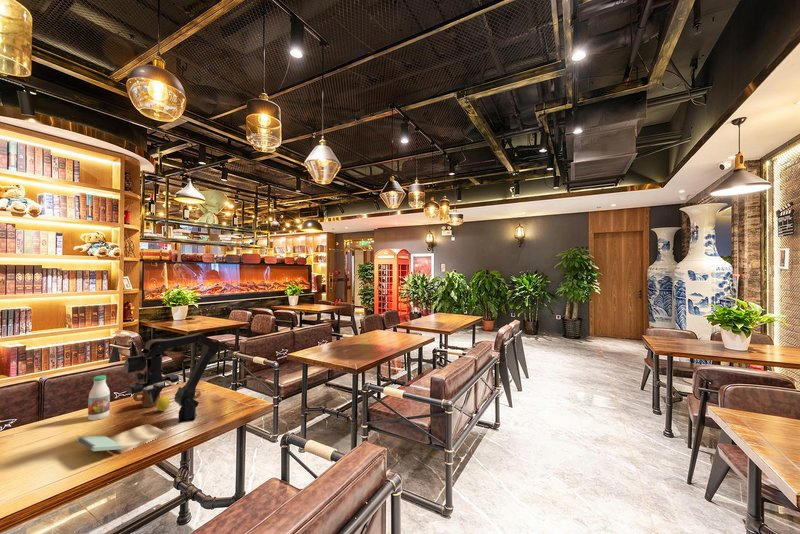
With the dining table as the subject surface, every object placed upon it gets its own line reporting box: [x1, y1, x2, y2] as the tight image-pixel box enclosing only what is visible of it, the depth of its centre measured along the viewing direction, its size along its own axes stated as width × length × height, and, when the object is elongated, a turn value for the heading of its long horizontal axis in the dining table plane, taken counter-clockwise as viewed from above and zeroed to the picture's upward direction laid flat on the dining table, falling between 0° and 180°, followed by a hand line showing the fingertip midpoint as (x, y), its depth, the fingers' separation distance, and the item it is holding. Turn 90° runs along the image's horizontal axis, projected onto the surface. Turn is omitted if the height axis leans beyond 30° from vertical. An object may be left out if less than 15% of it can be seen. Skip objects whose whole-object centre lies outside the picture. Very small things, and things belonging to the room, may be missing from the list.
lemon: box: [155, 395, 171, 412], centre depth 164 cm, size 6×6×8 cm
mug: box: [132, 390, 161, 408], centre depth 169 cm, size 12×8×9 cm, turn 154°
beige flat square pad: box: [108, 423, 167, 454], centre depth 137 cm, size 16×16×2 cm
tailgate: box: [75, 435, 122, 452], centre depth 126 cm, size 2×16×9 cm
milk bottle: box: [87, 374, 111, 421], centre depth 156 cm, size 8×8×20 cm
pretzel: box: [194, 388, 201, 399], centre depth 183 cm, size 12×11×4 cm
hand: (153, 402), depth 144 cm, fingers closed
